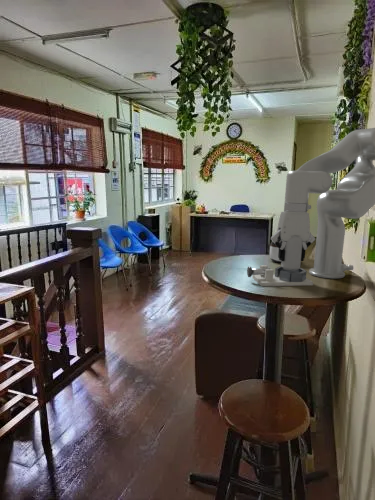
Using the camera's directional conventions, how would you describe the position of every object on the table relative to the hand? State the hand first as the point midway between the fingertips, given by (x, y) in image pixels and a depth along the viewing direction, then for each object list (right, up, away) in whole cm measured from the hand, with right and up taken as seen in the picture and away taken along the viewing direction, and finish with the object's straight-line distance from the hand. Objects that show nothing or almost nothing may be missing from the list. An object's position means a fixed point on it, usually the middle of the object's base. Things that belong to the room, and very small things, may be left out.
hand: (291, 259), depth 119 cm
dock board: (-3, -8, +1) cm, 8 cm away
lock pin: (-11, -6, 0) cm, 13 cm away
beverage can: (0, -3, +1) cm, 3 cm away
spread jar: (+6, -2, +33) cm, 34 cm away
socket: (0, -6, +1) cm, 7 cm away
